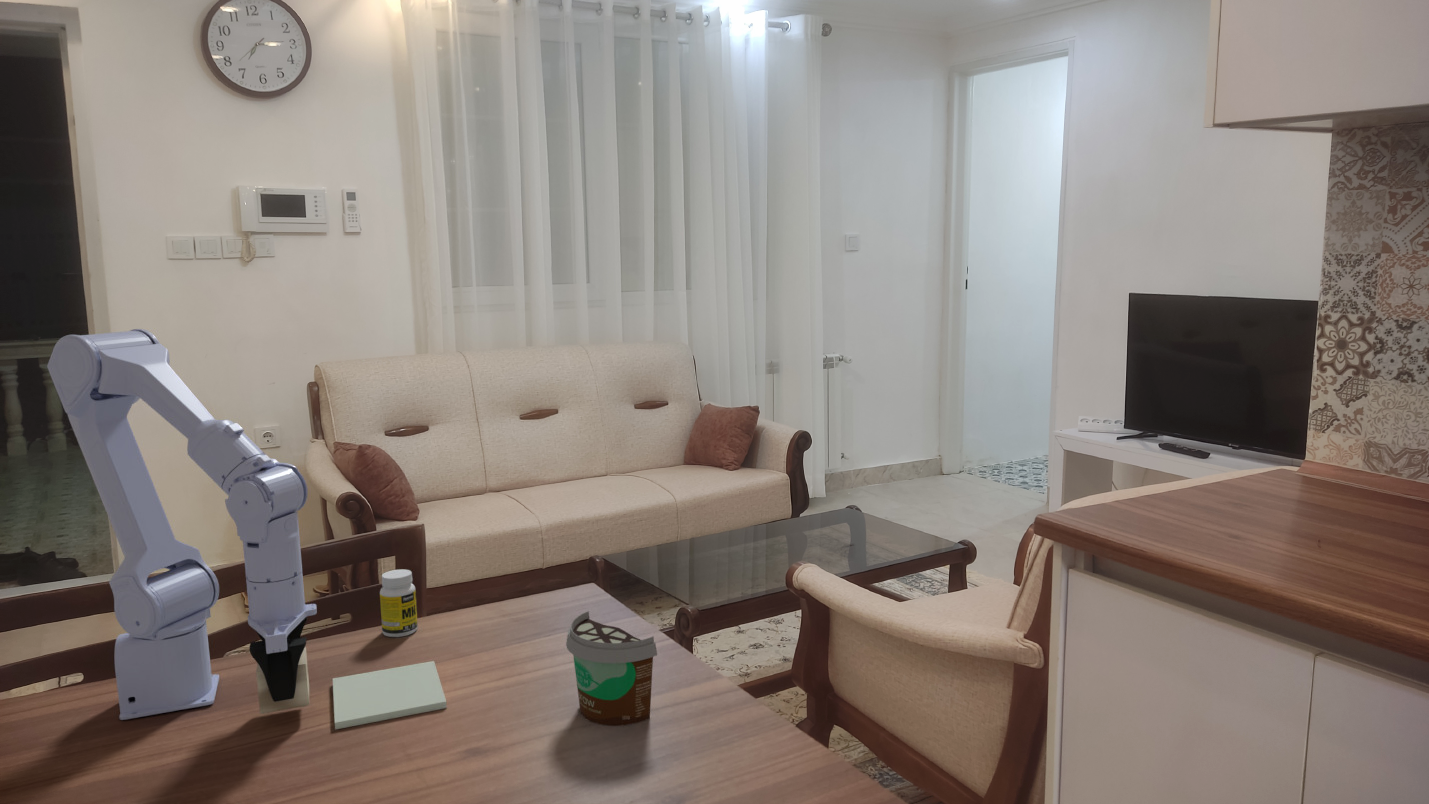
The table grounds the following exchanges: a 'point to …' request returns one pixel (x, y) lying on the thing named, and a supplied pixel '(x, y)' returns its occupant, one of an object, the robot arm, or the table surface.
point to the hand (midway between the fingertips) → (284, 688)
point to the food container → (611, 672)
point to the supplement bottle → (398, 603)
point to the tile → (387, 694)
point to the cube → (298, 701)
